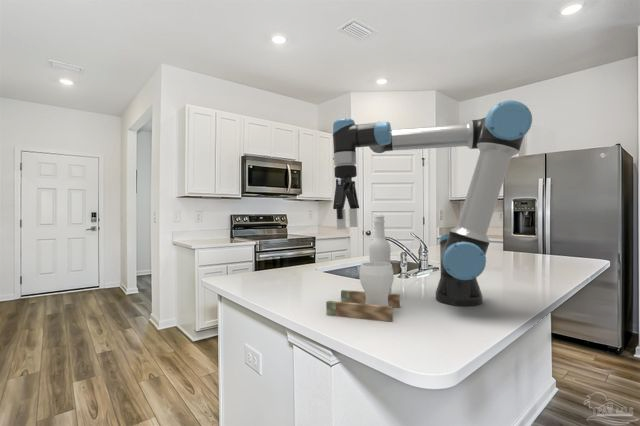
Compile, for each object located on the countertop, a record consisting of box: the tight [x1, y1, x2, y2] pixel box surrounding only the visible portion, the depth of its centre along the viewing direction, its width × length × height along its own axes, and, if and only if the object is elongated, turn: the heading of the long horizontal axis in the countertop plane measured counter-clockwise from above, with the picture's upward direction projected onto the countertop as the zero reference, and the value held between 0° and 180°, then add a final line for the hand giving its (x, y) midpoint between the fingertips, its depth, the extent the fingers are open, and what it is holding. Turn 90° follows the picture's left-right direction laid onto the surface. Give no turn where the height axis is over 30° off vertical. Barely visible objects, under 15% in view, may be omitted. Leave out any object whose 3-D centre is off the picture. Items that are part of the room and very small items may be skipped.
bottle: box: [368, 214, 392, 294], centre depth 127 cm, size 8×8×30 cm
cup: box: [358, 261, 395, 306], centre depth 107 cm, size 11×11×15 cm
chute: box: [325, 289, 401, 322], centre depth 109 cm, size 20×16×4 cm
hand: (347, 228), depth 116 cm, fingers open, 13 cm apart
